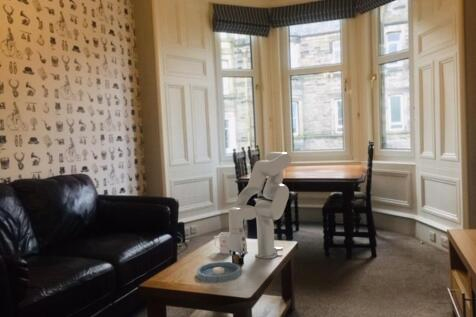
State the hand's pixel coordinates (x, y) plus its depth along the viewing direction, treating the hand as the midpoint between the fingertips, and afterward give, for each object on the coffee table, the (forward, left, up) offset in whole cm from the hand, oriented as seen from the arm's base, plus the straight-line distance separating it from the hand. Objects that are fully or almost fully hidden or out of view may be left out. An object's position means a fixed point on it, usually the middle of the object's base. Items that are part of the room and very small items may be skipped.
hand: (237, 263), depth 219 cm
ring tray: (+13, +11, 0) cm, 17 cm away
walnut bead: (0, 0, 0) cm, 0 cm away
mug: (+2, -23, -1) cm, 23 cm away
